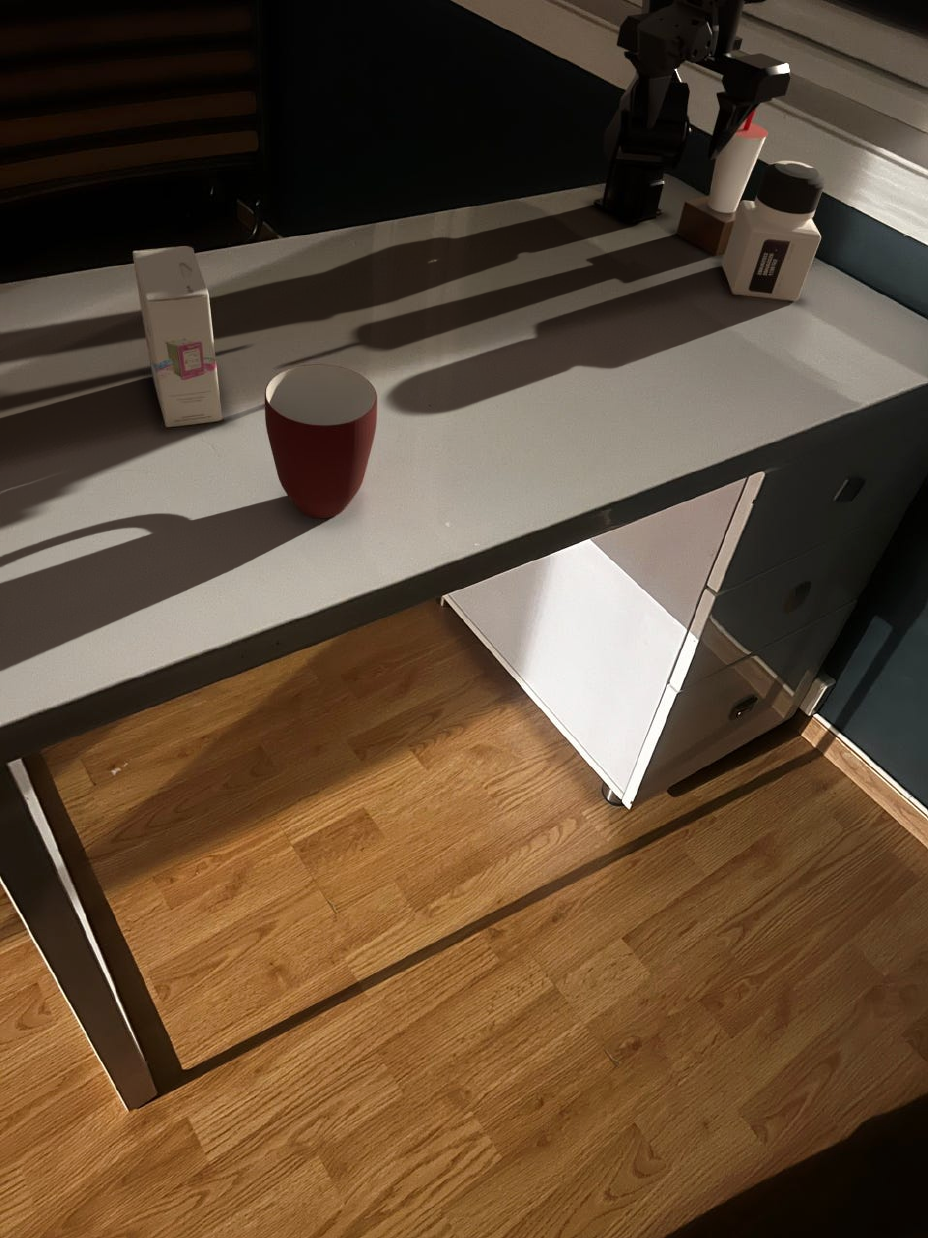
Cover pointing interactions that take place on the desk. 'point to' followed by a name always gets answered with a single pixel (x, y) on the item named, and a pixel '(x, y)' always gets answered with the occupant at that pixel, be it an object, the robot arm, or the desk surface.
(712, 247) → the walnut block
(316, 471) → the mug
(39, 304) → the desk surface
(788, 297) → the container
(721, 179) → the cup
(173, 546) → the desk surface
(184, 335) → the ink box
